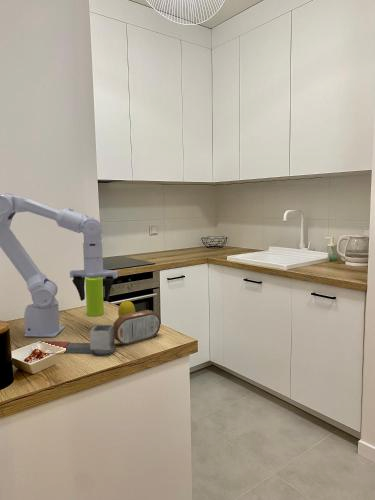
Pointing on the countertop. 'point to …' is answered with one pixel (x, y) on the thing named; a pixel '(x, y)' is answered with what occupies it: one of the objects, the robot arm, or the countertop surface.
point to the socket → (102, 337)
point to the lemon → (126, 308)
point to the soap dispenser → (94, 296)
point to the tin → (136, 326)
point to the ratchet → (81, 348)
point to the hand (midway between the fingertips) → (94, 299)
